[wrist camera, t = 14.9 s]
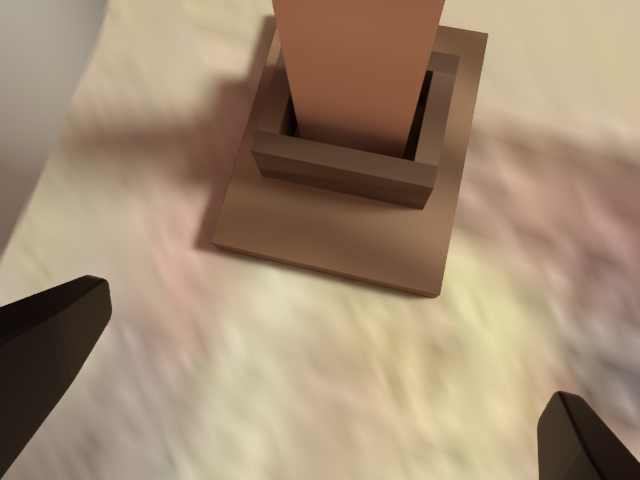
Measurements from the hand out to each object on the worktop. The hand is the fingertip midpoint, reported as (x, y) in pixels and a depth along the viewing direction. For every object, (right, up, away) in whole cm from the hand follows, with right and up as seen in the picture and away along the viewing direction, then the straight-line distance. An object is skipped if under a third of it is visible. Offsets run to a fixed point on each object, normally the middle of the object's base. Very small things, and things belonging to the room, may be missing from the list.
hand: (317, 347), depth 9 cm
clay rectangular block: (+2, +8, +15) cm, 16 cm away
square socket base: (+2, +7, +16) cm, 17 cm away
